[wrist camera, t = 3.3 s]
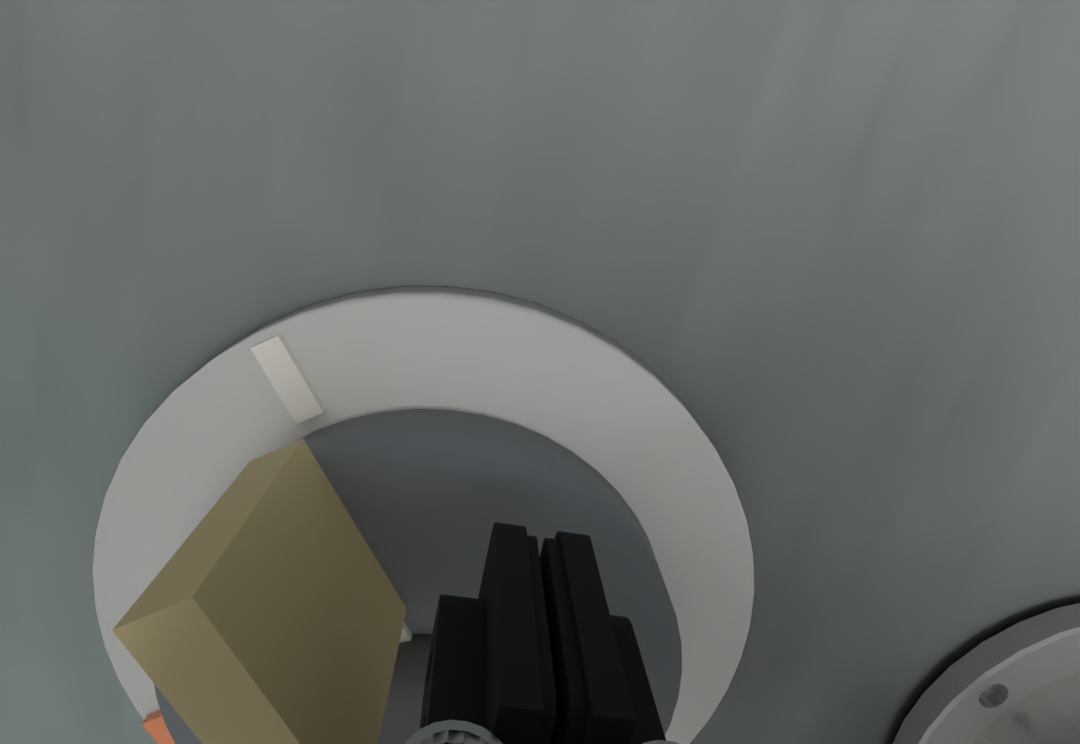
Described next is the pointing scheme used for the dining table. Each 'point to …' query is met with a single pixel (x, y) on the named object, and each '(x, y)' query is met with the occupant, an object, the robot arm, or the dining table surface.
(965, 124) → the dining table surface
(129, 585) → the plate
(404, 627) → the dial
